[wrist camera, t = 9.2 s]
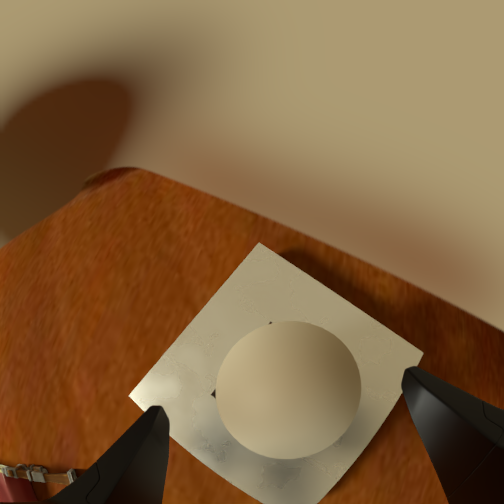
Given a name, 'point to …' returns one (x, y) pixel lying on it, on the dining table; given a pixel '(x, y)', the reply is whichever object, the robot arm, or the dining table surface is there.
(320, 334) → the ball
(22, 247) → the dining table surface
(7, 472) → the wooden post with brackets
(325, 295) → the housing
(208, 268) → the dining table surface
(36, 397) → the dining table surface
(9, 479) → the hardcover book
